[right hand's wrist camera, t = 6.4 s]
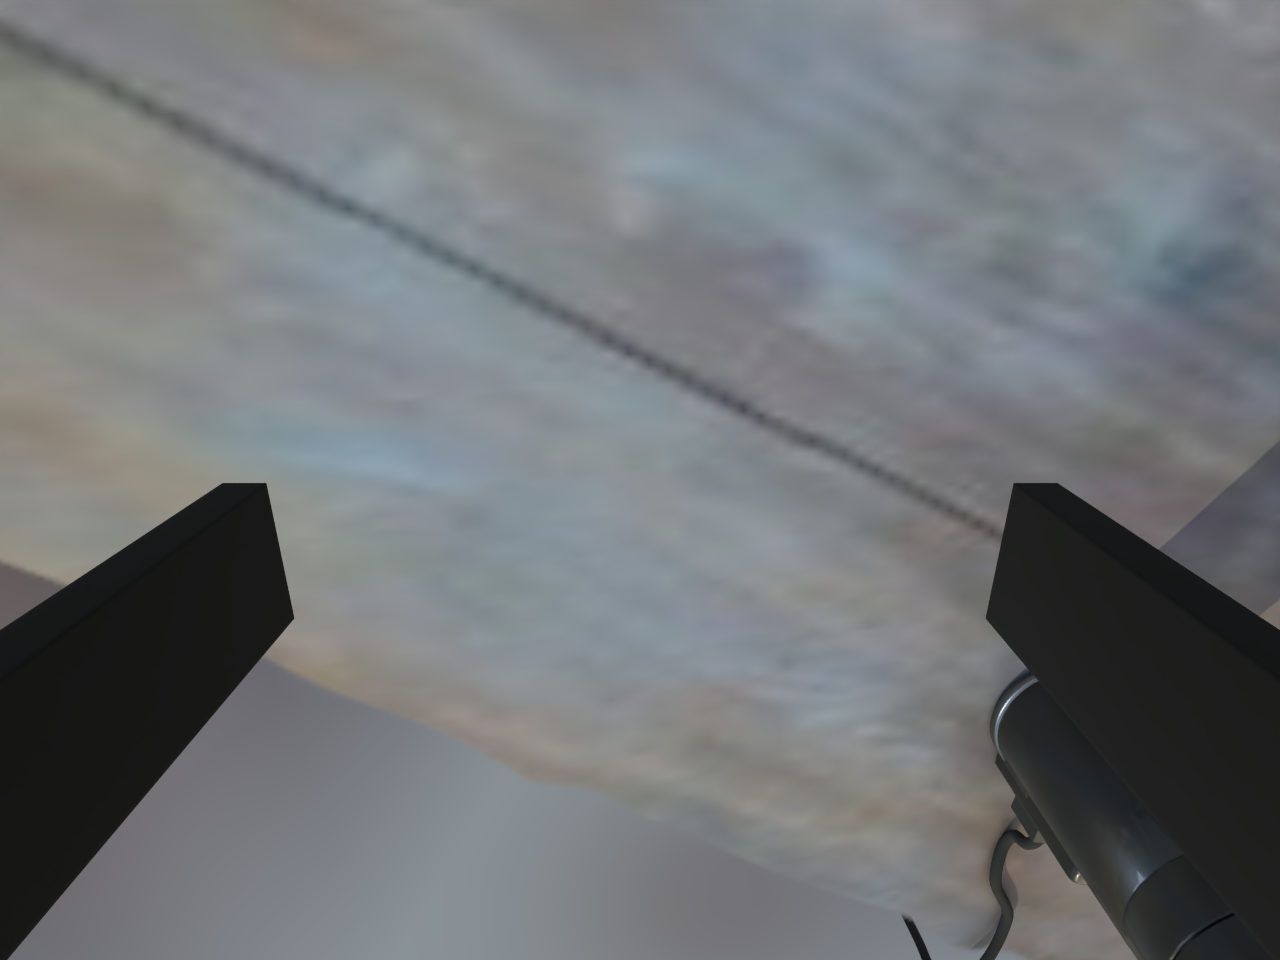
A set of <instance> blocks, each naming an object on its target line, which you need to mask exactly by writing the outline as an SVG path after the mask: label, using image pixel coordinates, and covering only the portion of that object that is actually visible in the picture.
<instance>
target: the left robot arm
mask: <svg viewBox="0 0 1280 960" xmlns="http://www.w3.org/2000/svg"><path fill="white" fill-rule="evenodd" d="M990 733H991V738H992V742H993V744H994V746H995V748H996V750H997V751H998V756H997V759H996V761H995V764H996V765H997V767H998V768H999V770H1000V771H1001V773H1002V775H1003V776H1004V778H1005V779H1006V781H1007V782H1008V784H1009V786H1010V787H1011V789H1012V790H1013V792H1014V793H1015V795H1016V796H1015V798H1014V801H1013V803H1012V805H1011V808H1012V809H1013V811H1014V812H1015V814H1016V816H1017V817H1018V819H1019V820H1020V822H1021V824H1022V825H1023V827H1024V829H1025V830H1026V832H1027V833H1028V835H1029V837H1027V838H1026V837H1025V836H1024V835H1023V834H1022V833H1021V832H1019V831H1018V830H1009V831H1007V832H1006V833H1005V834H1004V835H1003V836H1002V838H1001V839H1000V840H999V842H998V844H997V846H996V848H995V851H994V854H993V858H992V863H991V868H990V885H991V888H992V891H993V893H994V895H995V897H996V899H997V900H998V902H999V904H1000V906H1001V908H1002V916H1001V919H1000V922H999V925H998V928H997V930H996V933H995V935H994V937H993V939H992V941H991V943H990V945H989V946H988V948H987V950H986V951H985V953H984V954H983V956H982V957H981V958H980V960H995V958H996V956H997V955H998V953H999V951H1000V949H1001V948H1002V946H1003V944H1004V942H1005V939H1006V937H1007V935H1008V932H1009V930H1010V927H1011V924H1012V921H1013V909H1012V906H1011V903H1010V901H1009V899H1008V897H1007V895H1006V894H1005V892H1004V890H1003V888H1002V884H1001V877H1002V870H1003V865H1004V861H1005V857H1006V854H1007V852H1008V850H1009V848H1010V846H1011V845H1012V844H1013V843H1014V842H1016V843H1017V844H1018V845H1019V846H1021V847H1022V848H1023V849H1026V850H1031V849H1036V848H1038V847H1040V846H1041V845H1043V844H1044V843H1046V844H1047V845H1048V847H1049V848H1050V850H1051V851H1052V853H1053V854H1054V856H1055V857H1056V859H1057V861H1058V862H1059V864H1060V865H1061V867H1062V868H1063V870H1064V872H1065V873H1066V875H1067V876H1068V877H1069V879H1070V880H1072V881H1073V882H1075V883H1077V884H1082V885H1088V886H1089V888H1090V889H1091V891H1092V892H1093V894H1094V895H1095V897H1096V898H1097V900H1098V901H1099V903H1100V904H1101V906H1102V907H1103V909H1104V910H1105V912H1106V913H1107V915H1108V916H1109V918H1110V919H1111V921H1112V923H1113V924H1114V926H1115V927H1116V929H1117V930H1118V932H1119V933H1120V935H1121V936H1122V938H1123V939H1124V941H1125V942H1126V944H1127V945H1128V947H1129V948H1130V949H1131V951H1132V952H1133V954H1134V955H1135V957H1136V958H1137V960H1273V959H1272V958H1271V957H1270V956H1269V954H1268V953H1267V952H1266V951H1265V950H1264V949H1263V947H1262V946H1261V945H1260V944H1259V943H1258V941H1257V940H1256V939H1255V938H1254V937H1253V935H1252V934H1251V933H1250V932H1249V931H1248V930H1247V928H1246V927H1245V926H1244V925H1243V924H1242V922H1241V921H1240V920H1239V919H1238V918H1237V916H1236V915H1235V914H1234V913H1233V912H1232V910H1231V909H1230V908H1229V907H1228V906H1227V905H1226V903H1225V902H1224V901H1223V900H1222V899H1221V897H1220V896H1219V895H1218V894H1217V893H1216V891H1215V890H1214V889H1213V888H1212V887H1211V886H1210V884H1209V883H1208V882H1207V881H1206V880H1205V878H1204V877H1203V876H1202V875H1201V874H1200V872H1199V871H1198V870H1197V869H1196V868H1195V867H1194V865H1193V864H1192V863H1191V862H1190V861H1189V859H1188V858H1187V857H1186V856H1185V855H1184V853H1183V852H1182V851H1181V850H1180V849H1179V847H1178V846H1177V845H1176V844H1175V843H1174V842H1173V840H1172V839H1171V838H1170V837H1169V836H1168V834H1167V833H1166V832H1165V831H1164V830H1163V828H1162V827H1161V826H1160V825H1159V824H1158V823H1157V821H1156V820H1155V819H1154V818H1153V817H1152V815H1151V814H1150V813H1149V812H1148V811H1147V809H1146V808H1145V807H1144V806H1143V805H1142V804H1141V802H1140V801H1139V800H1138V799H1137V798H1136V796H1135V795H1134V794H1133V793H1132V792H1131V790H1130V789H1129V788H1128V787H1127V786H1126V784H1125V783H1124V782H1123V781H1122V780H1121V779H1120V777H1119V776H1118V775H1117V774H1116V773H1115V771H1114V770H1113V769H1112V768H1111V767H1110V765H1109V764H1108V763H1107V762H1106V761H1105V760H1104V758H1103V757H1102V756H1101V755H1100V754H1099V752H1098V751H1097V750H1096V749H1095V748H1094V746H1093V745H1092V744H1091V743H1090V742H1089V741H1088V739H1087V738H1086V737H1085V736H1084V735H1083V733H1082V732H1081V731H1080V730H1079V729H1078V727H1077V726H1076V725H1075V724H1074V723H1073V721H1072V720H1071V719H1070V718H1069V717H1068V716H1067V714H1066V713H1065V712H1064V711H1063V710H1062V708H1061V707H1060V706H1059V705H1058V704H1057V702H1056V701H1055V700H1054V699H1053V698H1052V697H1051V695H1050V694H1049V693H1048V692H1047V691H1046V689H1045V688H1044V687H1043V686H1042V685H1041V683H1040V682H1039V681H1038V680H1037V679H1036V678H1035V676H1034V675H1033V674H1032V673H1029V674H1027V675H1026V676H1024V677H1022V678H1021V679H1020V680H1018V681H1017V682H1016V683H1014V684H1013V685H1012V686H1011V687H1010V688H1009V689H1008V690H1007V691H1006V692H1005V693H1004V694H1003V696H1002V697H1001V699H1000V700H999V702H998V703H997V705H996V707H995V709H994V712H993V714H992V718H991V724H990ZM902 917H903V920H904V922H905V924H906V926H907V928H908V930H909V932H910V934H911V936H912V938H913V940H914V942H915V945H916V947H917V949H918V952H919V954H920V957H921V959H922V960H931V958H930V955H929V953H928V950H927V948H926V945H925V943H924V941H923V939H922V937H921V935H920V933H919V931H918V929H917V927H916V925H915V923H914V921H913V920H912V919H910V918H908V917H905V916H903V915H902Z"/></svg>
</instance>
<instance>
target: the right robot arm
mask: <svg viewBox="0 0 1280 960" xmlns="http://www.w3.org/2000/svg"><path fill="white" fill-rule="evenodd" d="M293 619H294V615H293V610H292V605H291V600H290V595H289V590H288V586H287V581H286V576H285V571H284V566H283V562H282V557H281V552H280V547H279V542H278V537H277V533H276V528H275V523H274V518H273V513H272V509H271V504H270V499H269V494H268V489H267V484H266V483H222V484H221V485H219V486H218V487H216V488H215V489H213V490H212V491H210V492H209V493H207V494H206V495H204V496H202V497H201V498H199V499H198V500H196V501H195V502H193V503H192V504H190V505H189V506H187V507H186V508H184V509H183V510H181V511H180V512H178V513H177V514H175V515H174V516H172V517H171V518H169V519H168V520H166V521H165V522H163V523H162V524H160V525H159V526H157V527H156V528H154V529H153V530H151V531H150V532H148V533H146V534H145V535H143V536H142V537H140V538H139V539H137V540H136V541H134V542H133V543H131V544H130V545H128V546H127V547H125V548H124V549H122V550H121V551H119V552H118V553H116V554H115V555H113V556H112V557H110V558H109V559H107V560H106V561H104V562H103V563H101V564H100V565H98V566H97V567H95V568H94V569H92V570H90V571H89V572H87V573H86V574H84V575H83V576H81V577H80V578H78V579H77V580H75V581H74V582H72V583H71V584H69V585H68V586H66V587H65V588H63V589H62V590H60V591H59V592H57V593H56V594H54V595H53V596H51V597H50V598H48V599H47V600H45V601H44V602H42V603H41V604H39V605H38V606H36V607H35V608H33V609H31V610H30V611H28V612H27V613H25V614H24V615H22V616H21V617H19V618H18V619H16V620H15V621H13V622H12V623H10V624H9V625H7V626H6V627H4V628H3V629H1V630H0V960H7V959H8V958H9V957H10V956H11V954H12V953H13V952H14V951H15V950H16V949H17V947H18V946H19V945H20V944H21V942H22V941H23V940H24V939H25V938H26V937H27V935H28V934H29V933H30V932H31V931H32V929H33V928H34V927H35V926H36V925H37V923H38V922H39V921H40V920H41V919H42V918H43V916H44V915H45V914H46V913H47V912H48V910H49V909H50V908H51V907H52V906H53V905H54V903H55V902H56V901H57V900H58V899H59V897H60V896H61V895H62V894H63V893H64V891H65V890H66V889H67V888H68V887H69V885H70V884H71V883H72V882H73V881H74V880H75V878H76V877H77V876H78V875H79V874H80V872H81V871H82V870H83V869H84V868H85V866H86V865H87V864H88V863H89V862H90V860H91V859H92V858H93V857H94V856H95V855H96V853H97V852H98V851H99V850H100V849H101V847H102V846H103V845H104V844H105V843H106V842H107V840H108V839H109V838H110V837H111V836H112V834H113V833H114V832H115V831H116V830H117V828H118V827H119V826H120V825H121V824H122V823H123V821H124V820H125V819H126V818H127V817H128V815H129V814H130V813H131V812H132V811H133V809H134V808H135V807H136V806H137V805H138V804H139V802H140V801H141V800H142V799H143V798H144V796H145V795H146V794H147V793H148V792H149V790H150V789H151V788H152V787H153V786H154V784H155V783H156V782H157V781H158V780H159V779H160V777H161V776H162V775H163V774H164V773H165V771H166V770H167V769H168V768H169V767H170V765H171V764H172V763H173V762H174V761H175V759H176V758H177V757H178V756H179V755H180V754H181V752H182V751H183V750H184V749H185V748H186V746H187V745H188V744H189V743H190V742H191V740H192V739H193V738H194V737H195V736H196V735H197V733H198V732H199V731H200V730H201V729H202V727H203V726H204V725H205V724H206V723H207V721H208V720H209V719H210V718H211V717H212V716H213V714H214V713H215V712H216V711H217V710H218V708H219V707H220V706H221V705H222V704H223V702H224V701H225V700H226V699H227V698H228V697H229V695H230V694H231V693H232V692H233V691H234V689H235V688H236V687H237V686H238V685H239V683H240V682H241V681H242V680H243V679H244V678H245V676H246V675H247V674H248V673H249V672H250V670H251V669H252V668H253V667H254V666H255V664H256V663H257V662H258V661H259V660H260V658H261V657H262V656H263V655H264V654H265V653H266V651H267V650H268V649H269V648H270V647H271V645H272V644H273V643H274V642H275V641H276V639H277V638H278V637H279V636H280V635H281V634H282V632H283V631H284V630H285V629H286V628H287V626H288V625H289V624H290V623H291V622H292V620H293ZM986 619H987V620H988V622H989V623H990V624H991V625H992V626H993V628H994V629H995V630H996V631H997V632H998V634H999V635H1000V636H1001V637H1002V638H1003V639H1004V641H1005V642H1006V643H1007V644H1008V645H1009V647H1010V648H1011V649H1012V650H1013V651H1014V653H1015V654H1016V655H1017V656H1018V657H1019V658H1020V660H1021V661H1022V662H1023V663H1024V664H1025V666H1026V667H1027V668H1028V669H1029V670H1030V672H1031V673H1032V674H1033V675H1034V676H1035V678H1036V679H1037V680H1038V681H1039V682H1040V683H1041V685H1042V686H1043V687H1044V688H1045V689H1046V691H1047V692H1048V693H1049V694H1050V695H1051V697H1052V698H1053V699H1054V700H1055V701H1056V702H1057V704H1058V705H1059V706H1060V707H1061V708H1062V710H1063V711H1064V712H1065V713H1066V714H1067V716H1068V717H1069V718H1070V719H1071V720H1072V721H1073V723H1074V724H1075V725H1076V726H1077V727H1078V729H1079V730H1080V731H1081V732H1082V733H1083V735H1084V736H1085V737H1086V738H1087V739H1088V741H1089V742H1090V743H1091V744H1092V745H1093V746H1094V748H1095V749H1096V750H1097V751H1098V752H1099V754H1100V755H1101V756H1102V757H1103V758H1104V760H1105V761H1106V762H1107V763H1108V764H1109V765H1110V767H1111V768H1112V769H1113V770H1114V771H1115V773H1116V774H1117V775H1118V776H1119V777H1120V779H1121V780H1122V781H1123V782H1124V783H1125V784H1126V786H1127V787H1128V788H1129V789H1130V790H1131V792H1132V793H1133V794H1134V795H1135V796H1136V798H1137V799H1138V800H1139V801H1140V802H1141V804H1142V805H1143V806H1144V807H1145V808H1146V809H1147V811H1148V812H1149V813H1150V814H1151V815H1152V817H1153V818H1154V819H1155V820H1156V821H1157V823H1158V824H1159V825H1160V826H1161V827H1162V828H1163V830H1164V831H1165V832H1166V833H1167V834H1168V836H1169V837H1170V838H1171V839H1172V840H1173V842H1174V843H1175V844H1176V845H1177V846H1178V847H1179V849H1180V850H1181V851H1182V852H1183V853H1184V855H1185V856H1186V857H1187V858H1188V859H1189V861H1190V862H1191V863H1192V864H1193V865H1194V867H1195V868H1196V869H1197V870H1198V871H1199V872H1200V874H1201V875H1202V876H1203V877H1204V878H1205V880H1206V881H1207V882H1208V883H1209V884H1210V886H1211V887H1212V888H1213V889H1214V890H1215V891H1216V893H1217V894H1218V895H1219V896H1220V897H1221V899H1222V900H1223V901H1224V902H1225V903H1226V905H1227V906H1228V907H1229V908H1230V909H1231V910H1232V912H1233V913H1234V914H1235V915H1236V916H1237V918H1238V919H1239V920H1240V921H1241V922H1242V924H1243V925H1244V926H1245V927H1246V928H1247V930H1248V931H1249V932H1250V933H1251V934H1252V935H1253V937H1254V938H1255V939H1256V940H1257V941H1258V943H1259V944H1260V945H1261V946H1262V947H1263V949H1264V950H1265V951H1266V952H1267V953H1268V954H1269V956H1270V957H1271V958H1272V959H1273V960H1280V630H1279V629H1277V628H1276V627H1274V626H1273V625H1271V624H1270V623H1268V622H1267V621H1265V620H1264V619H1262V618H1261V617H1259V616H1258V615H1256V614H1255V613H1253V612H1252V611H1250V610H1249V609H1247V608H1245V607H1244V606H1242V605H1241V604H1239V603H1238V602H1236V601H1235V600H1233V599H1232V598H1230V597H1229V596H1227V595H1226V594H1224V593H1223V592H1221V591H1220V590H1218V589H1217V588H1215V587H1214V586H1212V585H1211V584H1209V583H1208V582H1206V581H1205V580H1203V579H1202V578H1200V577H1199V576H1197V575H1196V574H1194V573H1193V572H1191V571H1190V570H1188V569H1186V568H1185V567H1183V566H1182V565H1180V564H1179V563H1177V562H1176V561H1174V560H1173V559H1171V558H1170V557H1168V556H1167V555H1165V554H1164V553H1162V552H1161V551H1159V550H1158V549H1156V548H1155V547H1153V546H1152V545H1150V544H1149V543H1147V542H1146V541H1144V540H1143V539H1141V538H1140V537H1138V536H1137V535H1135V534H1134V533H1132V532H1130V531H1129V530H1127V529H1126V528H1124V527H1123V526H1121V525H1120V524H1118V523H1117V522H1115V521H1114V520H1112V519H1111V518H1109V517H1108V516H1106V515H1105V514H1103V513H1102V512H1100V511H1099V510H1097V509H1096V508H1094V507H1093V506H1091V505H1090V504H1088V503H1087V502H1085V501H1084V500H1082V499H1081V498H1079V497H1078V496H1076V495H1074V494H1073V493H1071V492H1070V491H1068V490H1067V489H1065V488H1064V487H1062V486H1061V485H1059V484H1058V483H1014V484H1013V489H1012V494H1011V499H1010V504H1009V509H1008V513H1007V518H1006V523H1005V528H1004V533H1003V537H1002V542H1001V547H1000V552H999V557H998V562H997V566H996V571H995V576H994V581H993V586H992V590H991V595H990V600H989V605H988V610H987V615H986Z"/></svg>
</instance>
